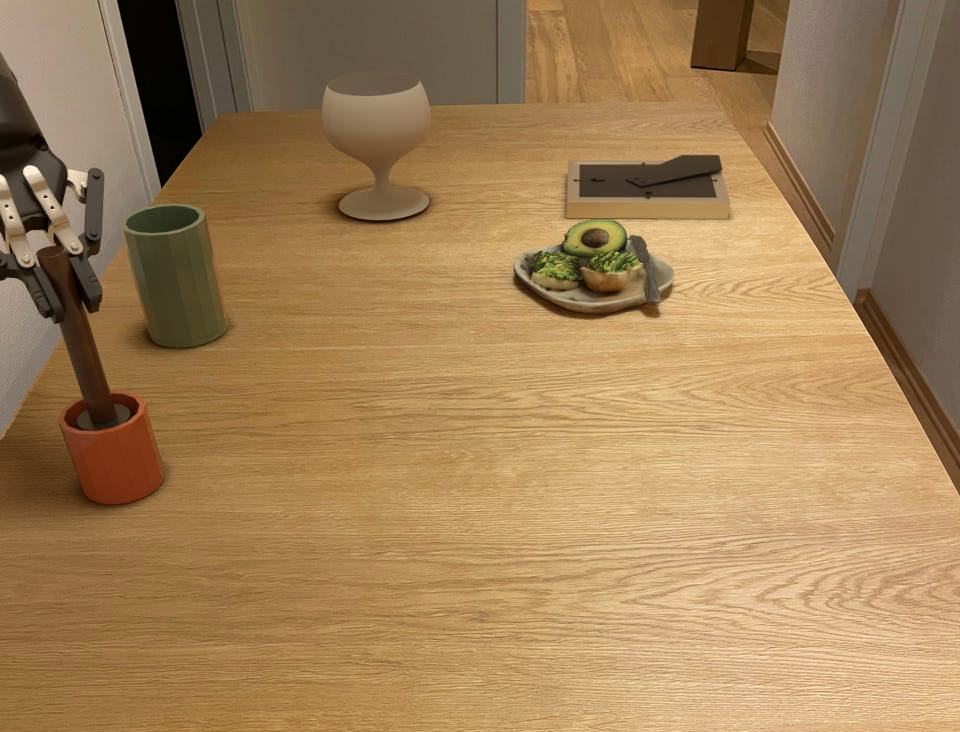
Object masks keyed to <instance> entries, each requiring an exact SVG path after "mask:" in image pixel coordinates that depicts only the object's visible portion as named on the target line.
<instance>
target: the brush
mask: <svg viewBox="0 0 960 732" xmlns="http://www.w3.org/2000/svg"><path fill="white" fill-rule="evenodd" d="M35 256H36V258H37V262H38V265H39V267H40V266H42V267H43V269H44V271H45V273H46V275H47V277H48V279H49V281H50V283H51V285H52V287H53V289H54V291H55V293H56V295H57V297H58V299H59V301H60V303H61V305H62V307H63V310H64V313H65V316H64V322H61V323H58V326H59V329H60V332H61V335H62V338H63V341H64V344H65V347H66V350H67V354H68V356H69V360H70V362H71V365H72V369H73V371H74V375H75V378H76V381H77V384H78V388H79V390H80V393H81V397H83V399H84V402H85V405H86V408H87V410H85V411H84V412H82V413H81V414H80V415H79V416H78V418H77V425H78V428H79V430H80V431H99V430H104V429H110V428H114V427H116V426H118V425H121V424H123V423H125V422H128V421H129V420H130V419H131V418H132V416H131V412H130V410H129V409H128V408H127V407H126V406H124V405H120V404H114V403H113V399H112V396H111V393H110V387H109V386H110V385H109V384H108V383H109V382H108V381H107V377H106V373H105V371H104V367H103V364H102V361H101V360H102V359H101V357H100V354H99V351H98V348H97V344H96V341H95V338H94V334H93V330H92V328H91V325H90V321H89V318H88V315H87V310H86V307H85V305H84V303H83V301H82V299H81V295H80V292H79V289H78V285H77V282H76V279H75V276H74V272H73V269H72V266H71V263H70V259H69V256H68V252H67V249H66V248H65V247H63V246H54V245H49V246H45V247H42V248H40V249H38V250H37V251H36V253H35Z"/></svg>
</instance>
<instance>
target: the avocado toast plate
mask: <svg viewBox="0 0 960 732" xmlns="http://www.w3.org/2000/svg"><path fill="white" fill-rule="evenodd" d="M563 236H564V240H563V241H562V242H561V243H560V244H556V245H548V246H545V247H540V248H534V249H531V250H528V251H524V252H523V253H520V254H519V255H517V257H516V258H515V261H514V263H513V266H512V267H513V273H514V275H515V278H516V279H517V280H518V282H519V283H520V284H521V285H522V286H524V287H525V288H527V289H530V290H531V291H532V292H534V293H535V294H536V295H537V296H538V297H541V298H543V299H545V300H547V301H548V302H550V303H553V304H555V305H558V306H560V307H561V308H563V309H565V310H567V311H569V312H574V313H575V312H576V313H582V314H583V313H584V314H599V315H600V314H609V313H616V312H619V311H621V310H625V309H628V308H632V307H637V306H641V305H644V304H646V303H648V304H654V305H655V304H656V305H657V304H660V303H662V301H663V299H662V295H661V293H663V291H665V290H667V289H669V288H670V286H671V285H672V283H673V281H674V279H675V274H676V271H675V269H674V268H673V267H672V266H671V265H670V264H668V263H666V262H664V261H663V260H661V259H660V258H657V256H655V255H652V254H651V253H650V252H649V250H648V249H647V248H648V244H647V242H646V241H645V239H644V238H643V237H642V236H641V235H635V234H629V236H628V232H627V231H626V228H625V227H624V226H623V225H622V224H621V223H620V222H618V221H616V220H614V219H611V218H590V219H586V220H584V221H581V222H578V223H576V224H574V225H572V226H571V227H569V228H568V230H567V231H566V232H565V233H564V234H563Z"/></svg>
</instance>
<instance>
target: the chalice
mask: <svg viewBox="0 0 960 732" xmlns="http://www.w3.org/2000/svg"><path fill="white" fill-rule="evenodd" d="M321 127H322V132H323V135H324V136H325V138H326V140H327V141H328V142H329V143H330V145H331V146H332V147H333V148H334V149H336V150H338V151H339V152H340V153H342V154H344V155H347V156H349V157H351V158H353V159H354V160H357V161H359V162H361V163H363V165H366V166H367V167H368V168H369V169H370V170H371V172H372V174H373V176H374V180H375V181H374V186H369V187H364V188H361V189H358V190H354V191H352V192H350V193H347V195H345V196H344V197H343V198H342V199H341V200H340V201H339V203H338V208H339V210H340V211H341V212H342V213H343V214H345V215H346V216H349V217H352V218H356V219H361V220H368V221H386V220H389V221H390V220H395V219H403V218H405V217H410V216H413V215H415V214H417V213H420V212H422V211H423V210H425V209H426V208H427V207H428V205H429V203H430V198H429V197H428V195H426V194H425V193H424V192H422V191H421V190H419V189H416V188H413V187H409V186H404V185H391V183H390V179H389V178H390V172H391V170H392V168H393V167H394V165H395V164H396V163H398V161H399V160H401V159H402V158H404V157H405V156H406V155H408V154H410V153H411V152H413V151H414V150H416V149H417V148H419V147H420V146H421V145H422V144H423V143H424V142H425V140H426V139H427V137H428V135H429V134H430V132H431V129H432V111H431V106H430V103H429V100H428V96H427V93H426V90H425V87H424V85H423V84H422V82H421V80H420V78H419V77H417V76H416V75H414V74H413V73H408V72H405V71H398V70H387V69H386V70H385V69H383V70H381V69H379V70H376V69H375V70H363V71H355V72H351V73H350V72H349V73H346V74H343V75H340V76H337V77H335V78H333V79H331V80H330V81H328V83H327V85H326V88H325V90H324V93H323V97H322V103H321ZM393 187H396V188H393ZM368 189H373V190H370V191H365V190H368ZM362 191H365V192H362ZM360 192H362V193H360ZM358 193H359V194H358ZM356 194H357V195H356Z"/></svg>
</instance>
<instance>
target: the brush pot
mask: <svg viewBox="0 0 960 732" xmlns="http://www.w3.org/2000/svg"><path fill="white" fill-rule="evenodd" d="M109 390H110V389H109ZM110 393H111V396H112V399H113V403H114V404H120V405H124V406H126V407H127V408H128V409H129V410H130V412H131V416H132V418H131V419H130V420H129V421H128V422H125V423H123V424H121V425H118V426H116V427H114V428H110V429H104V430H99V431H80V430H79V428H78V425H77V418H78V416H79V415H80V414H81V413H82V412H84V411H85V410H87V408H86V405H85V402H84V399H83V396H81V397H78V398H76V399H74V400H72V401H70V402H69V403H68V404H67V405H66V406H65V407H63V408H62V409H61V410H60V412H59V414H58V417H57V423H58V426H59V429H60V431H61V435H62V437H63V440H64V442H65V445H66V448H67V451H68V455H69V457H70V460H71V463H72V465H73V469H74V471H75V473H76V477H77V478H78V482H79V485H80V487H81V489H82V491H83V493H84V495H85V496H86V498H88V499H89V500H91V501H93V502H95V503H97V504H98V503H99V504H103V505H122V504H127V503H132V502H136V501H139V500H141V499H143V498H146V497H148V496H149V495H151V494H152V493H154V492H156V491H157V489H158V488H159V487H160V486H161V485H162V484H163V482H164V479H165V471H164V464H163V461H162V457H161V454H160V450H159V446H158V443H157V439H156V435H155V432H154V429H153V426H152V422H151V419H150V415H149V412H148V408H147V404H146V402H145V401H144V399H143V398H142V397H141V396H140V395H138V394H136V393H134V392H130V391H128V390H113V389H111V390H110Z"/></svg>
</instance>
